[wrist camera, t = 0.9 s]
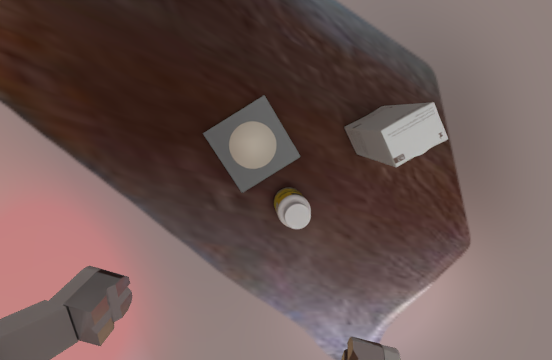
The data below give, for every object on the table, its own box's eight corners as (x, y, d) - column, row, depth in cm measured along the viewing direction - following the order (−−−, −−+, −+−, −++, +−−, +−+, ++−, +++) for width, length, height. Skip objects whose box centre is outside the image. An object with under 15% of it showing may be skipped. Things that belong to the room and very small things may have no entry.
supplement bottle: (301, 185, 53) (314, 197, 43) (303, 213, 54) (316, 232, 44) (271, 188, 52) (278, 201, 43) (274, 216, 53) (281, 236, 44)
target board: (203, 133, 49) (202, 133, 48) (263, 95, 49) (264, 95, 48) (242, 191, 52) (242, 193, 50) (299, 155, 52) (300, 156, 50)
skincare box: (381, 105, 52) (436, 96, 37) (394, 135, 53) (452, 138, 39) (341, 128, 52) (380, 128, 37) (355, 157, 53) (398, 169, 38)
